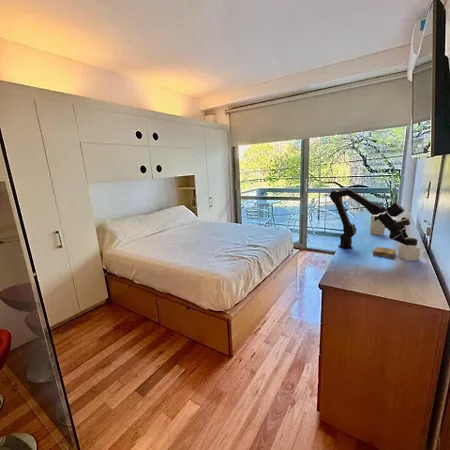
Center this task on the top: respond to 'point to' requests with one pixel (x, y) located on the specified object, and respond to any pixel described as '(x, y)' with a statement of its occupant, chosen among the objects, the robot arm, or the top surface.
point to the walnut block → (384, 252)
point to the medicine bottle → (409, 250)
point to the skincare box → (376, 226)
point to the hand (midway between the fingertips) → (408, 243)
